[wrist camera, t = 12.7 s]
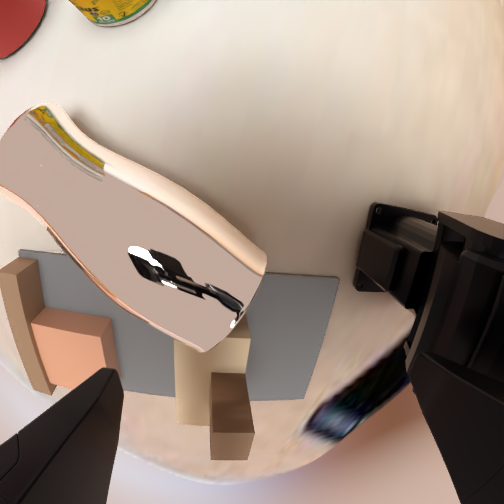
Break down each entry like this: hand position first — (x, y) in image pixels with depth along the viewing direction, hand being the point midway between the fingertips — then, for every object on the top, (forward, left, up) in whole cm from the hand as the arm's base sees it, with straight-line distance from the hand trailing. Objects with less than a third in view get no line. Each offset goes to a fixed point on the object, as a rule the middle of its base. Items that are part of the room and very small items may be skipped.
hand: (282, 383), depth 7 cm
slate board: (+5, +8, -12) cm, 15 cm away
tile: (+12, +9, -12) cm, 19 cm away
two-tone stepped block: (+2, +9, -12) cm, 15 cm away
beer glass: (+14, -6, -9) cm, 17 cm away
